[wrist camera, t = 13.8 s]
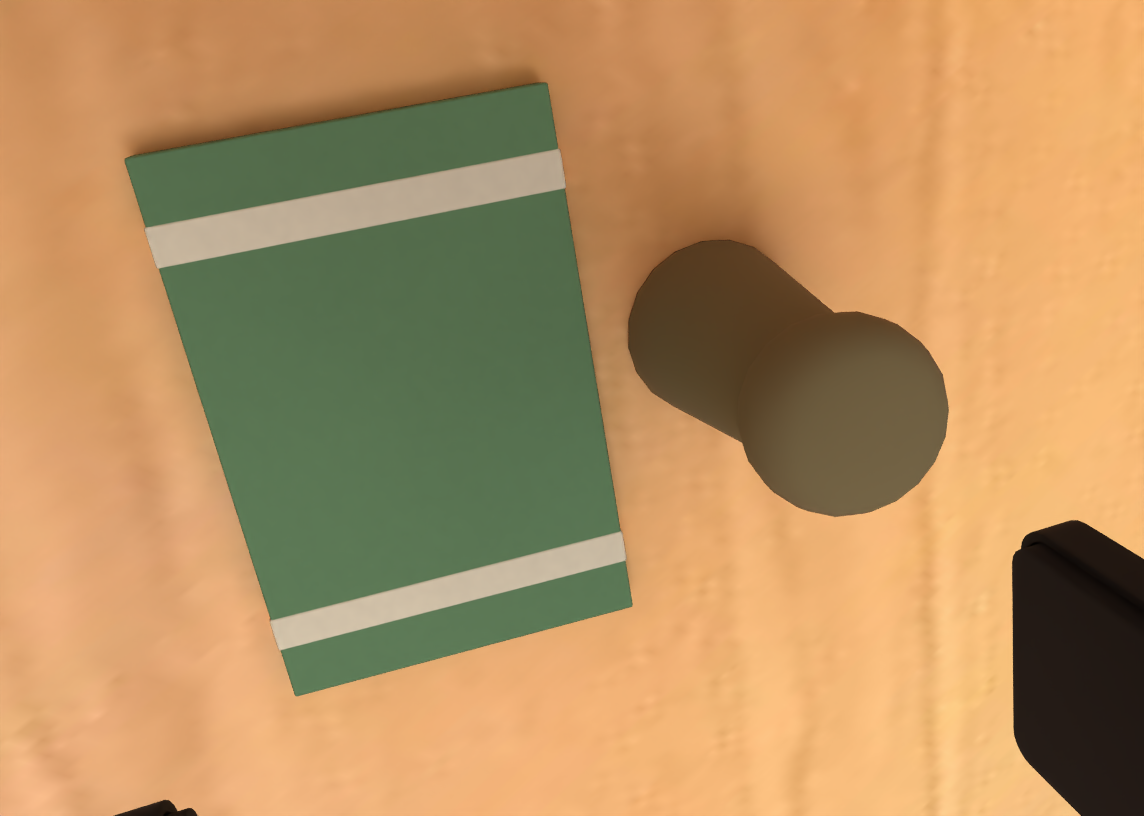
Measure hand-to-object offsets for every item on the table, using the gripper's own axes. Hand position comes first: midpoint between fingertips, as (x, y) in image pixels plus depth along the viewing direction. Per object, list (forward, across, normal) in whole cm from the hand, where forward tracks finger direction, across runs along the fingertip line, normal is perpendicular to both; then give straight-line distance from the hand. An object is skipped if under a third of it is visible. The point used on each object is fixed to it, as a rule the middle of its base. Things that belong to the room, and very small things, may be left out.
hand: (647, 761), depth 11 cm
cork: (+22, -9, +3) cm, 24 cm away
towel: (+22, +2, +3) cm, 22 cm away
